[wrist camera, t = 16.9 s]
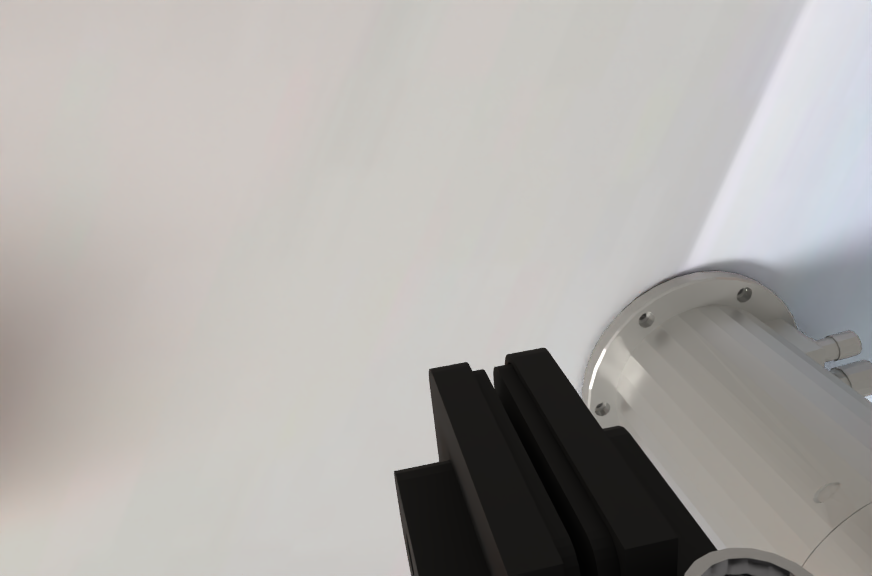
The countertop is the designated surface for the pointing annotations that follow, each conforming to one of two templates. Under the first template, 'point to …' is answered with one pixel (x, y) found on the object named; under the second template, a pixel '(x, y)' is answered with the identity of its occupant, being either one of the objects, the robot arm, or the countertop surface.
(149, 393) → the countertop surface
